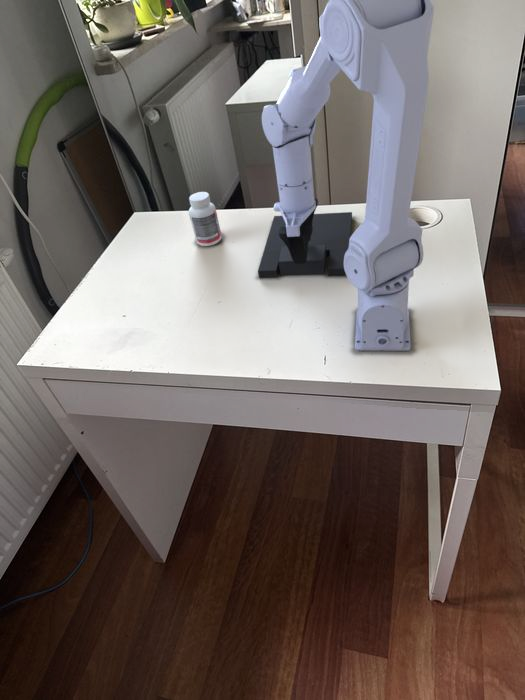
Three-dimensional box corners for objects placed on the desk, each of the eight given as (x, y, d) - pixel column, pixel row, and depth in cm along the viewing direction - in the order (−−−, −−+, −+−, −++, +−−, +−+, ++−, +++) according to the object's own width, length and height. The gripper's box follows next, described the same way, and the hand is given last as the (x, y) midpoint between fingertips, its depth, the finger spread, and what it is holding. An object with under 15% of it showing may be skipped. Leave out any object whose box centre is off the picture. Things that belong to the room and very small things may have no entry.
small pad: (324, 274, 93) (323, 260, 91) (280, 275, 95) (278, 261, 93) (326, 258, 97) (325, 244, 95) (284, 260, 98) (282, 246, 96)
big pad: (347, 275, 92) (347, 268, 91) (259, 277, 95) (257, 271, 94) (352, 218, 106) (352, 211, 105) (275, 222, 110) (274, 215, 109)
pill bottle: (226, 239, 107) (217, 195, 101) (204, 250, 105) (193, 205, 99) (213, 230, 111) (203, 187, 104) (192, 240, 109) (180, 197, 102)
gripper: (276, 161, 90) (285, 230, 100) (263, 201, 80) (274, 274, 89) (317, 158, 89) (322, 229, 98) (308, 199, 79) (315, 273, 88)
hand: (302, 251), depth 93 cm, fingers open, 7 cm apart
